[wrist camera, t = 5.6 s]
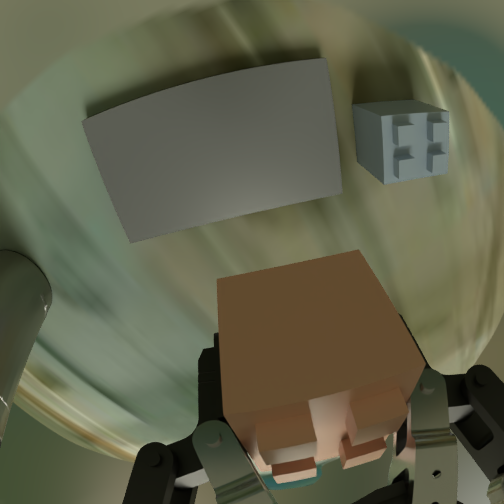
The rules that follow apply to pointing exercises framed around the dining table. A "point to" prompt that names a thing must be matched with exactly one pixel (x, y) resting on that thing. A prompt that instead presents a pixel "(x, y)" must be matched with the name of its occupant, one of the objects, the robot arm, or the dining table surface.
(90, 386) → the dining table surface
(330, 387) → the brick terracotta
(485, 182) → the dining table surface
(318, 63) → the baseplate
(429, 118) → the brick slate
